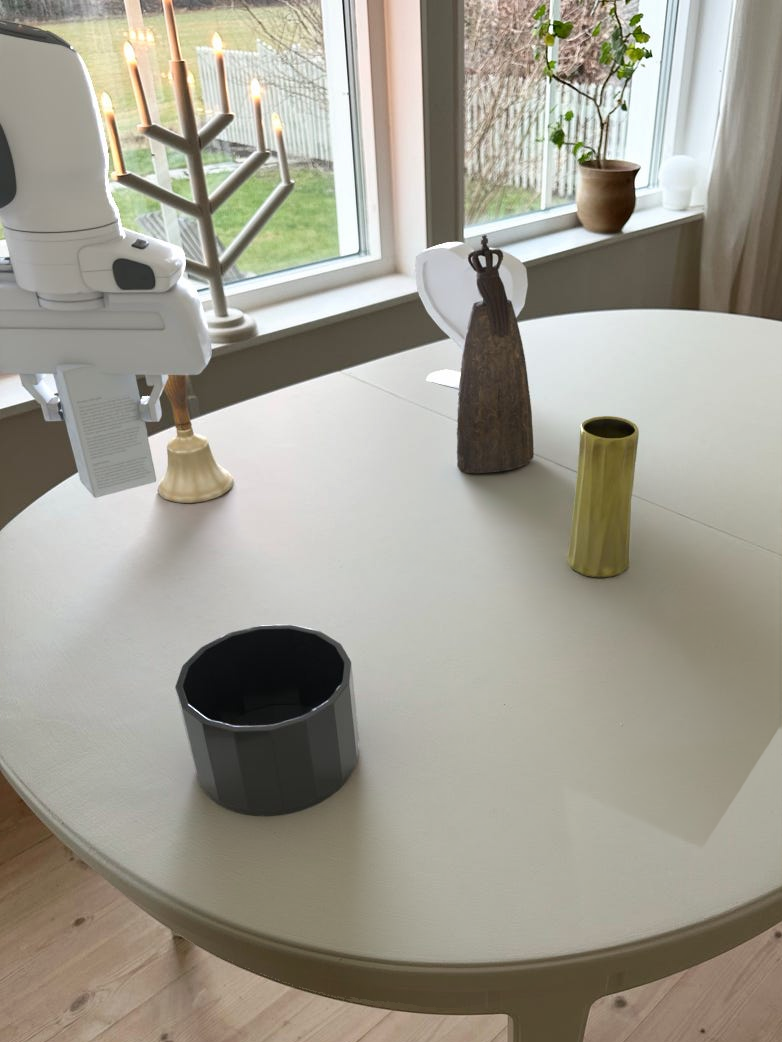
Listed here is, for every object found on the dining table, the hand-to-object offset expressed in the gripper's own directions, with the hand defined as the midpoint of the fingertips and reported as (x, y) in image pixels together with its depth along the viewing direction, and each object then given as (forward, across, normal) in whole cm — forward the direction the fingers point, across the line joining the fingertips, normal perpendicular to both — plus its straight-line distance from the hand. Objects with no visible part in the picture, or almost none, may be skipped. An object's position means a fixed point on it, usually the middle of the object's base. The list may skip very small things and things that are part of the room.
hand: (105, 419), depth 86 cm
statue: (+14, +37, +21) cm, 45 cm away
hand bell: (+15, +3, +16) cm, 22 cm away
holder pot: (+15, +18, -29) cm, 37 cm away
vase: (+14, +46, -2) cm, 48 cm away
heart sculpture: (+14, +35, +46) cm, 59 cm away
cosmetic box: (+6, 0, 0) cm, 7 cm away
